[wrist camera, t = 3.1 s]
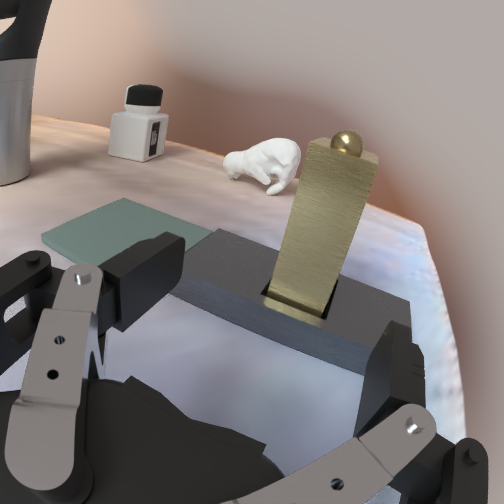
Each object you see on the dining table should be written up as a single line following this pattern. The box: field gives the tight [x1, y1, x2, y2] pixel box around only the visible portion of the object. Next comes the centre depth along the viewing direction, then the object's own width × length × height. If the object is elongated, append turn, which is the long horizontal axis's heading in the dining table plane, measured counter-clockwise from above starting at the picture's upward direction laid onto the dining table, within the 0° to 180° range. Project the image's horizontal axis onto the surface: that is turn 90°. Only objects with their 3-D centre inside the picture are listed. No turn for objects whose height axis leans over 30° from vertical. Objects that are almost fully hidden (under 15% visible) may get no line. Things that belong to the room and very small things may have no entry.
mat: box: [41, 198, 213, 266], centre depth 29 cm, size 12×12×1 cm
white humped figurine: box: [223, 138, 301, 195], centre depth 49 cm, size 6×8×12 cm
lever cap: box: [266, 129, 378, 318], centre depth 21 cm, size 4×5×14 cm
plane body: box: [169, 229, 412, 376], centre depth 24 cm, size 18×8×2 cm, turn 68°
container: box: [108, 84, 169, 162], centre depth 51 cm, size 8×8×13 cm
